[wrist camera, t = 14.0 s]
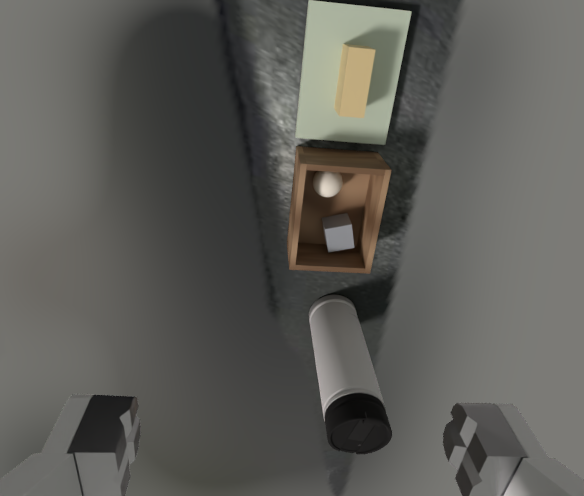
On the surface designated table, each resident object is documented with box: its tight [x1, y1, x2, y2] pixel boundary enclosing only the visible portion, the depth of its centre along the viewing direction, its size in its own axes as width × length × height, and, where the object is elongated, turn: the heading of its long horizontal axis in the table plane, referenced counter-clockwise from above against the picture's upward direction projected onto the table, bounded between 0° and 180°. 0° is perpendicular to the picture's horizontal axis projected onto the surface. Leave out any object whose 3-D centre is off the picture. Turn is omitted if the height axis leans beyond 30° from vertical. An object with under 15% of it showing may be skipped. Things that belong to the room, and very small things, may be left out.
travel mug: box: [309, 295, 392, 454], centre depth 50 cm, size 6×7×20 cm
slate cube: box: [322, 213, 354, 252], centre depth 51 cm, size 3×3×3 cm
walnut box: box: [287, 146, 391, 273], centre depth 48 cm, size 12×9×6 cm
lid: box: [295, 0, 412, 145], centre depth 43 cm, size 13×10×5 cm
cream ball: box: [313, 171, 343, 197], centre depth 47 cm, size 3×3×3 cm
